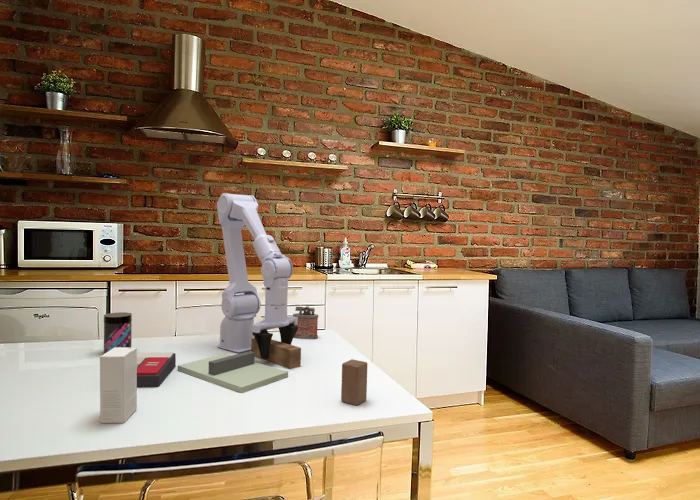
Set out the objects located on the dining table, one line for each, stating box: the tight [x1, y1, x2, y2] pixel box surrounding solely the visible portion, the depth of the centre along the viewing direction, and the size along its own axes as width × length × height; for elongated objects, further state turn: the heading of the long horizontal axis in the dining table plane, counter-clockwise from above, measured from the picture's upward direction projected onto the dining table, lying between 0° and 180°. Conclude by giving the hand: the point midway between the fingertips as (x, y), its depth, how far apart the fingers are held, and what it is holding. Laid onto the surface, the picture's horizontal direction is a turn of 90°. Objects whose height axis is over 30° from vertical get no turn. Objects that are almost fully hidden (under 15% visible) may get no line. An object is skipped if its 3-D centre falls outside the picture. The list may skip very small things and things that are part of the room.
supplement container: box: [103, 311, 133, 354], centre depth 123 cm, size 7×7×10 cm
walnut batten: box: [250, 338, 302, 370], centre depth 120 cm, size 16×3×5 cm, turn 49°
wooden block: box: [340, 359, 368, 406], centre depth 94 cm, size 4×4×8 cm
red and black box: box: [137, 351, 176, 388], centre depth 105 cm, size 11×4×15 cm
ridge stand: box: [177, 350, 289, 394], centre depth 109 cm, size 23×14×4 cm, turn 54°
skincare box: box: [99, 347, 138, 424], centre depth 83 cm, size 6×4×12 cm
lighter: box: [292, 305, 319, 340], centre depth 146 cm, size 8×3×10 cm, turn 84°
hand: (275, 355), depth 120 cm, fingers open, 7 cm apart
